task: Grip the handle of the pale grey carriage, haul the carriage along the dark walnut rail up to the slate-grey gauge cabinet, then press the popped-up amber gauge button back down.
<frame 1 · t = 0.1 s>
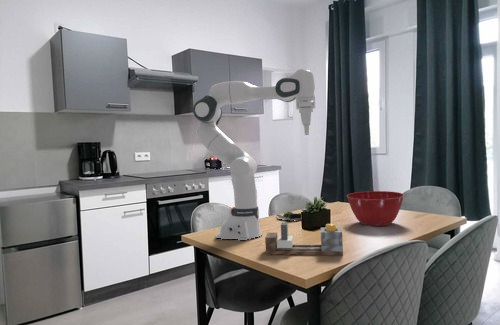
hand: (306, 134, 167), 48 cm above the table, tool pointing down, fingers open, 8 cm apart
salad plate: (293, 219, 211), on the table
gauge button: (331, 230, 142), point 9 cm above the table, slide at 0.0 cm
rail base: (304, 251, 145), on the table
carriage: (284, 234, 146), point 7 cm above the table, slide at 0.0 cm
mixing bowl: (375, 223, 188), on the table
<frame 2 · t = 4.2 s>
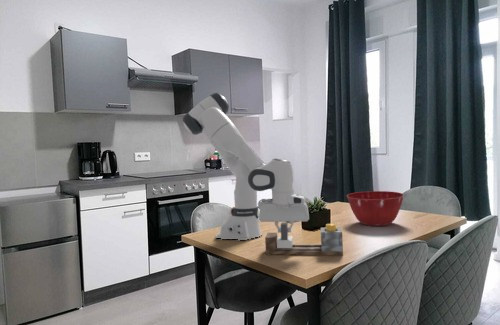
hand: (284, 232, 146), 8 cm above the table, tool pointing down, fingers closed on carriage, 2 cm apart
carriage: (284, 234, 146), point 7 cm above the table, slide at 0.0 cm, touching gripper
everything else where it was.
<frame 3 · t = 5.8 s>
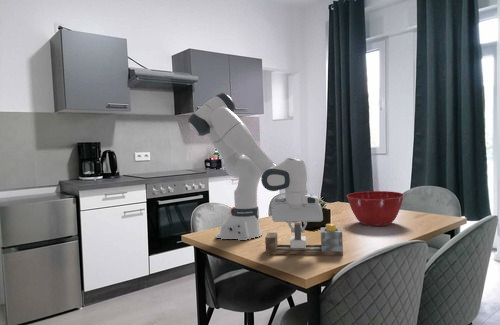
hand: (297, 232, 144), 8 cm above the table, tool pointing down, fingers closed on carriage, 2 cm apart
carriage: (298, 234, 145), point 7 cm above the table, slide at 5.4 cm, touching gripper
everything else where it was.
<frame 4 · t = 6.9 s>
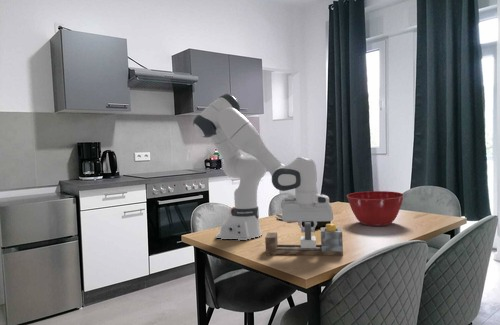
hand: (308, 232, 144), 8 cm above the table, tool pointing down, fingers closed on carriage, 2 cm apart
carriage: (308, 234, 144), point 7 cm above the table, slide at 9.4 cm, touching gripper
everything else where it was.
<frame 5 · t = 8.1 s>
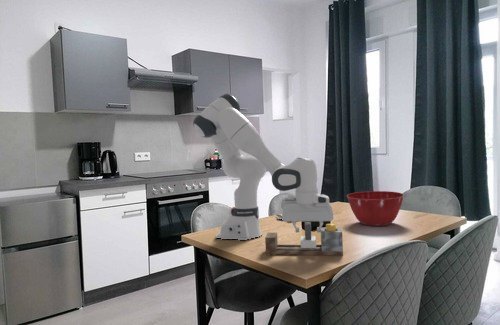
hand: (308, 232, 144), 8 cm above the table, tool pointing down, fingers open, 7 cm apart
carriage: (308, 234, 144), point 7 cm above the table, slide at 9.4 cm
everything else where it was.
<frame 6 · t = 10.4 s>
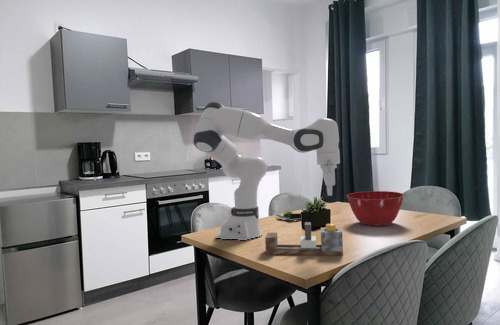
hand: (329, 194, 142), 23 cm above the table, tool pointing down, fingers open, 4 cm apart
nothing on the table moved.
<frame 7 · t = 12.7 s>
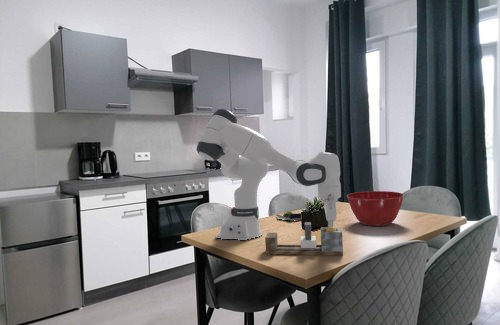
hand: (330, 227, 142), 10 cm above the table, tool pointing down, fingers closed, pressing on gauge button
gauge button: (331, 233, 142), point 8 cm above the table, slide at 1.1 cm, touching gripper
everything else where it was.
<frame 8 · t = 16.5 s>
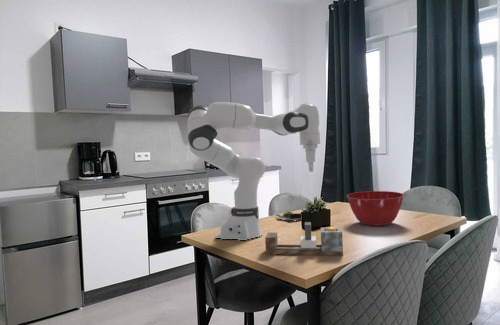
hand: (311, 171, 160), 31 cm above the table, tool pointing down, fingers closed
gauge button: (331, 233, 142), point 7 cm above the table, slide at 1.3 cm
everything else where it was.
at the end: carriage slide at 9.4 cm; gauge button slide at 1.3 cm; the gripper is holding nothing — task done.
